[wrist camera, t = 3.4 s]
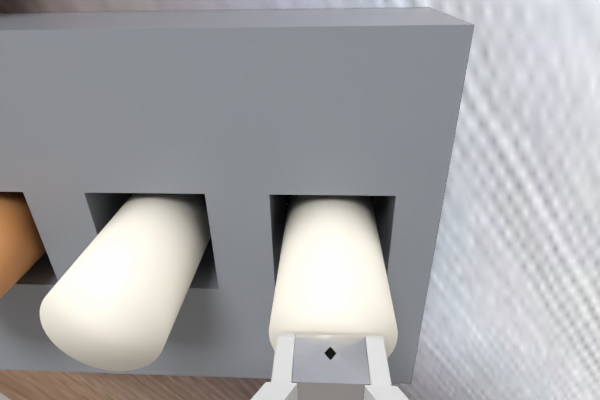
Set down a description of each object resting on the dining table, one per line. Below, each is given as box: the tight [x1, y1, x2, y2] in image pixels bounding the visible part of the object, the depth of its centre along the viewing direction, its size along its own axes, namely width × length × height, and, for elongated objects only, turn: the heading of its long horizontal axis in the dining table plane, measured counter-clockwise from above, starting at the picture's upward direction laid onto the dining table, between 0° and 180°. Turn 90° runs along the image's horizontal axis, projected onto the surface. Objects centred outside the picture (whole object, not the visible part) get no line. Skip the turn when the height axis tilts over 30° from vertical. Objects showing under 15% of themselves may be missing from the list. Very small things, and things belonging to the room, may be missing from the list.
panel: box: [0, 7, 474, 384], centre depth 19 cm, size 22×16×6 cm
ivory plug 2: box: [269, 195, 398, 358], centre depth 15 cm, size 4×4×7 cm
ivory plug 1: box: [40, 193, 211, 371], centre depth 16 cm, size 4×4×7 cm
